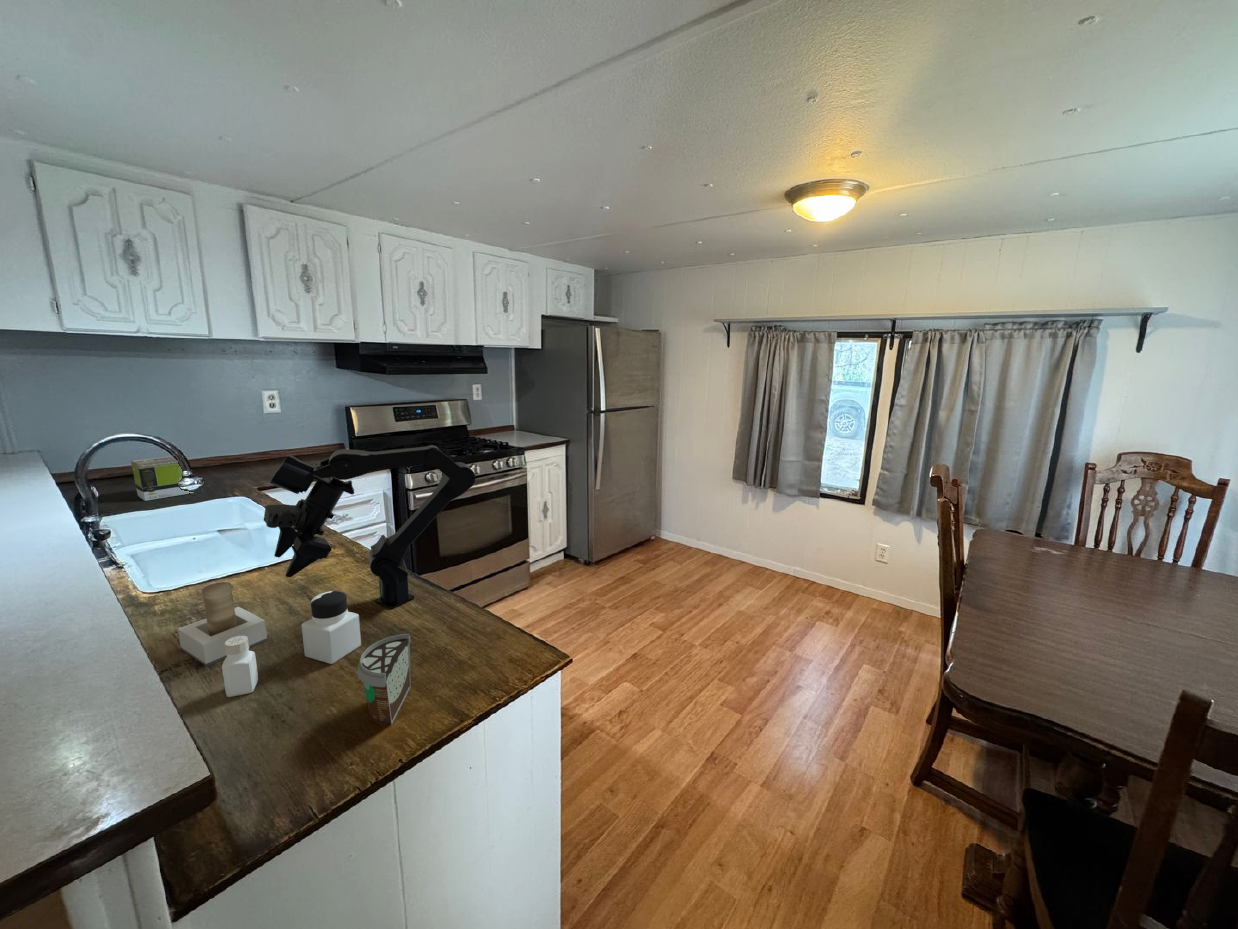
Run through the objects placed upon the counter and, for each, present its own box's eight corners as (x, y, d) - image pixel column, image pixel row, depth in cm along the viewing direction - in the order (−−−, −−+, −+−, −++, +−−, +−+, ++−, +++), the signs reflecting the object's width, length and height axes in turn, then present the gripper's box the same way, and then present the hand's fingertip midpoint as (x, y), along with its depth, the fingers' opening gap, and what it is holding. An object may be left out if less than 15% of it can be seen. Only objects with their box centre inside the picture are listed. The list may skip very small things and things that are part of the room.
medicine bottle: (362, 645, 101) (357, 591, 99) (331, 665, 94) (326, 607, 92) (335, 638, 103) (330, 584, 101) (304, 657, 97) (297, 600, 94)
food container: (378, 682, 90) (374, 632, 88) (413, 682, 90) (410, 632, 88) (347, 733, 78) (342, 676, 76) (388, 731, 78) (384, 675, 76)
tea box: (186, 489, 205) (180, 454, 202) (194, 493, 199) (188, 457, 196) (136, 496, 193) (130, 459, 190) (143, 501, 187) (137, 463, 184)
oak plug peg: (244, 638, 101) (236, 583, 99) (223, 650, 97) (215, 593, 95) (226, 635, 102) (218, 581, 100) (204, 647, 98) (196, 590, 95)
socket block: (267, 640, 102) (264, 620, 101) (206, 666, 93) (203, 644, 92) (241, 625, 107) (238, 606, 106) (181, 649, 98) (177, 628, 97)
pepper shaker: (225, 699, 84) (217, 649, 82) (232, 685, 88) (225, 636, 86) (253, 694, 86) (247, 644, 84) (259, 680, 90) (253, 632, 88)
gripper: (270, 475, 108) (231, 538, 107) (293, 509, 96) (250, 580, 95) (321, 491, 116) (285, 550, 115) (348, 524, 104) (309, 590, 103)
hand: (282, 566), depth 107 cm, fingers open, 9 cm apart
